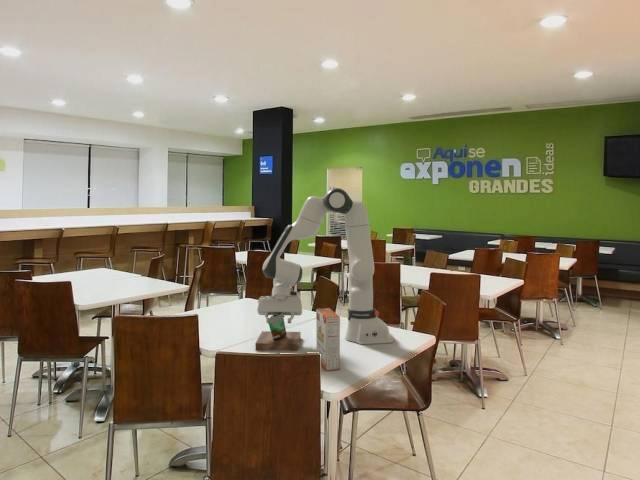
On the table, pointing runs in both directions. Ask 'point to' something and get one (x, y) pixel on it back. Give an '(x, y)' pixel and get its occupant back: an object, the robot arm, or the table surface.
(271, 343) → the walnut stand
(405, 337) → the table surface
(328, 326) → the cracker box
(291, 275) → the robot arm
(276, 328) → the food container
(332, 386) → the table surface
